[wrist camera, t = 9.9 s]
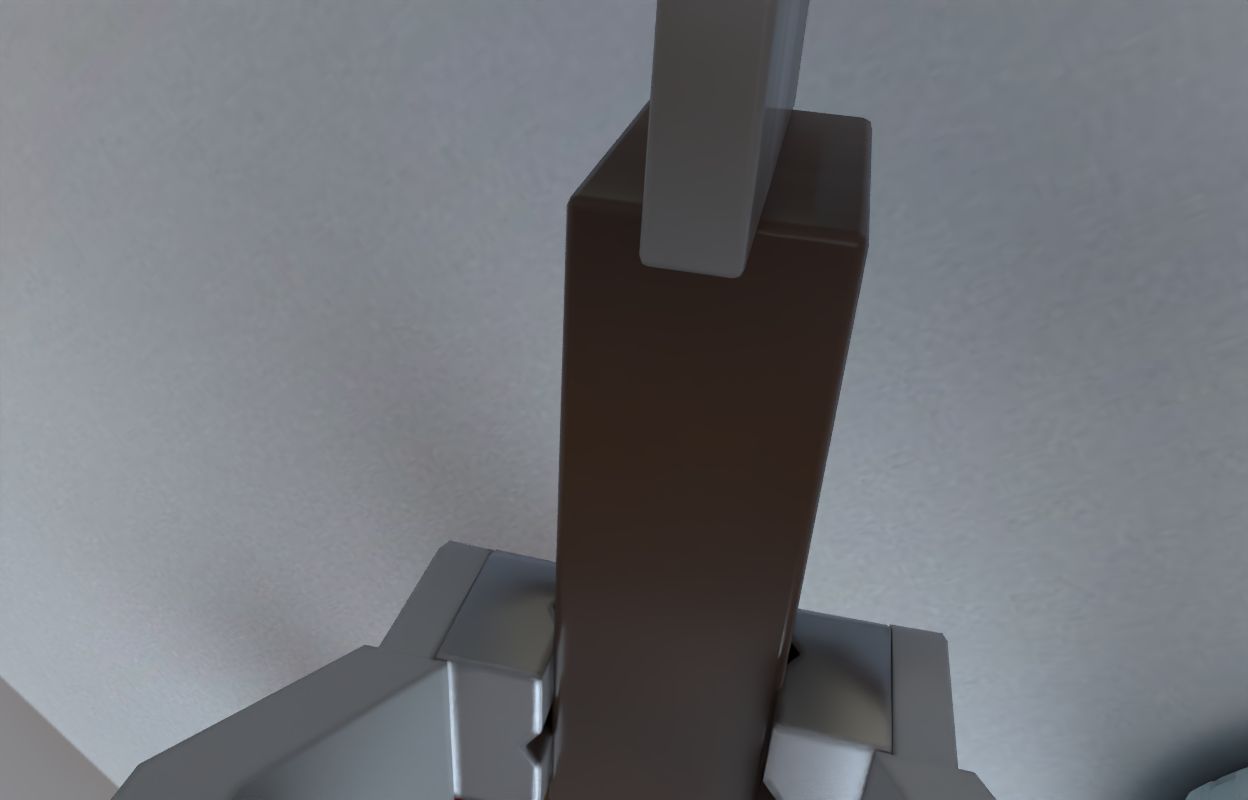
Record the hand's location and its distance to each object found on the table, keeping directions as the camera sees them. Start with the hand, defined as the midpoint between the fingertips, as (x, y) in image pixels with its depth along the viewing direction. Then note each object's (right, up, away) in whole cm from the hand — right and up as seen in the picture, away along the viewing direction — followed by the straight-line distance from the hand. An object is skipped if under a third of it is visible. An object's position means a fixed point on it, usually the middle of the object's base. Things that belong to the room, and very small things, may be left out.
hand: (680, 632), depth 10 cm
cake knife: (+1, +6, -2) cm, 6 cm away
